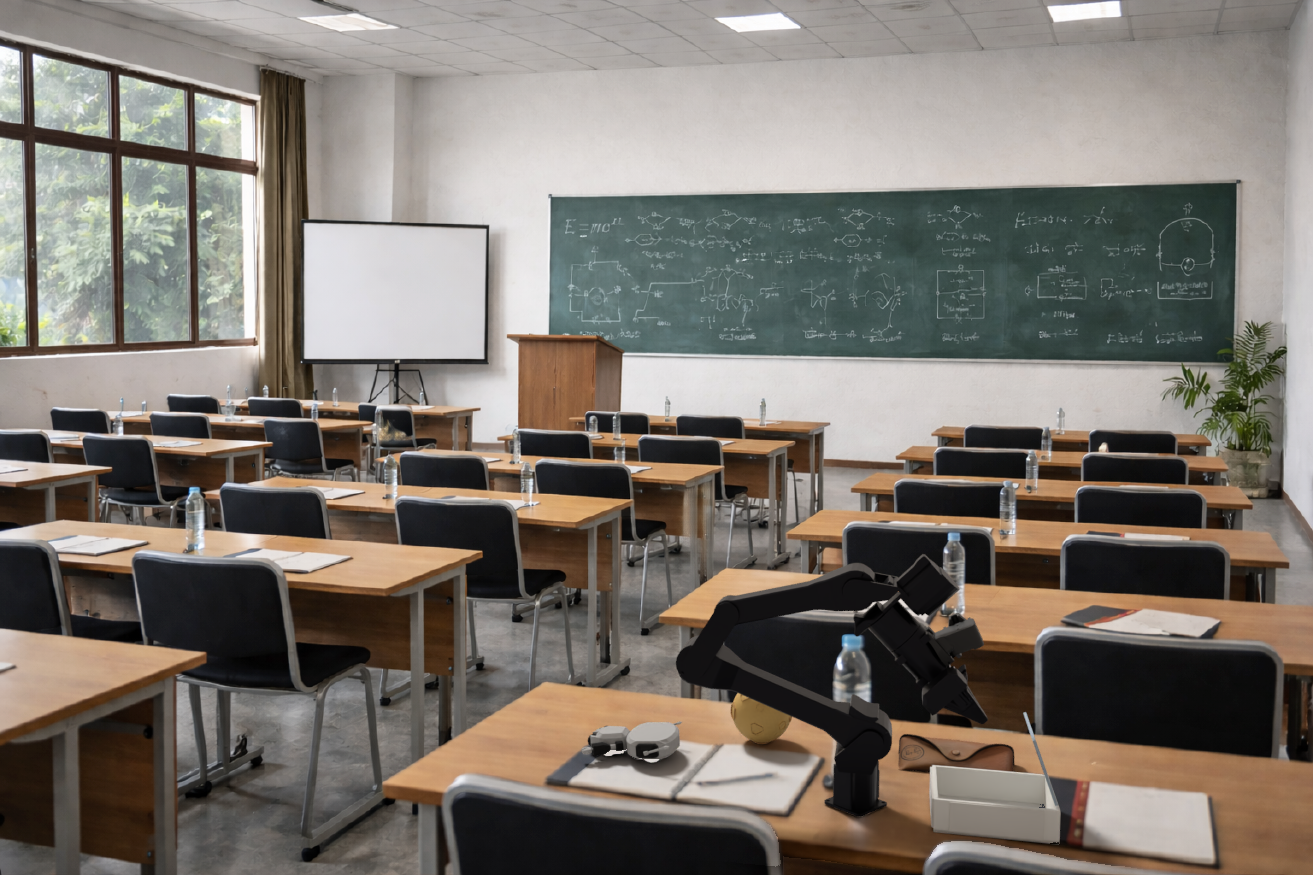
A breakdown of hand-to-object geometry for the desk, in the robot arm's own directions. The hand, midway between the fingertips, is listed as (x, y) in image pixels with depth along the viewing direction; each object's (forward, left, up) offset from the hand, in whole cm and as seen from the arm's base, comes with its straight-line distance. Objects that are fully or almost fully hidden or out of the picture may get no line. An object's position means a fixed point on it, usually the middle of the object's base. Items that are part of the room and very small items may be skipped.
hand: (985, 721), depth 151 cm
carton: (+1, -1, -14) cm, 14 cm away
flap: (+5, -7, -9) cm, 13 cm away
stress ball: (-1, +41, -14) cm, 43 cm away
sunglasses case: (+14, +14, -14) cm, 24 cm away
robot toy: (-21, +50, -14) cm, 56 cm away
